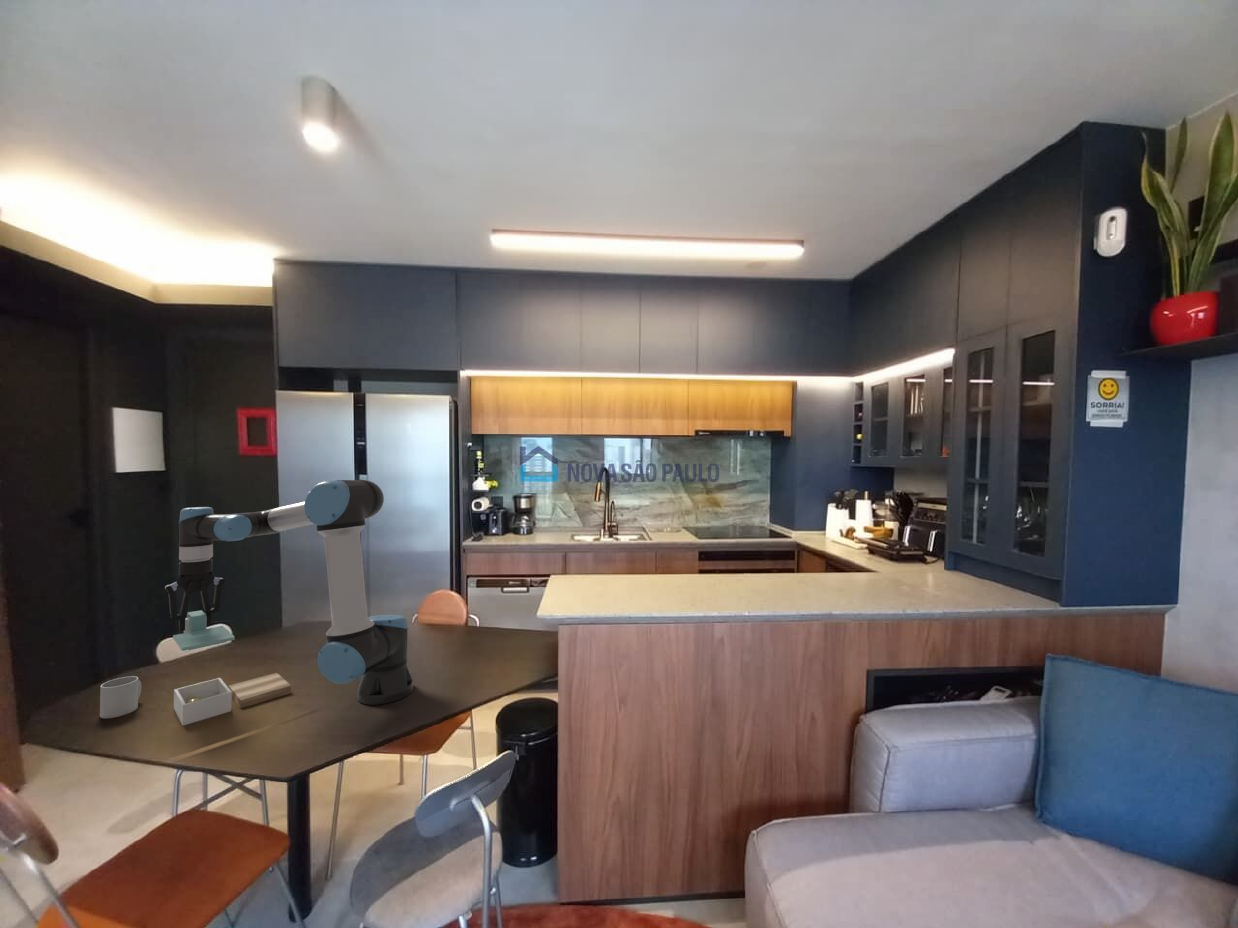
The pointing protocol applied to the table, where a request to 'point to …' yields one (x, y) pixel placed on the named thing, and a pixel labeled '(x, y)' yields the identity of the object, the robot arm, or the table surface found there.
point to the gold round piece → (193, 699)
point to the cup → (119, 696)
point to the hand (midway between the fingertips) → (195, 639)
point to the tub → (202, 701)
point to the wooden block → (259, 689)
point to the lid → (201, 633)
